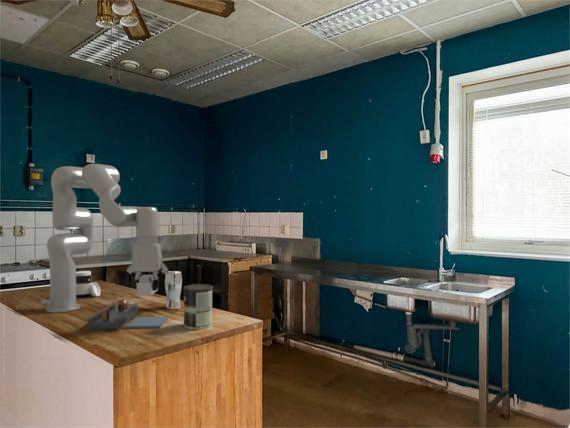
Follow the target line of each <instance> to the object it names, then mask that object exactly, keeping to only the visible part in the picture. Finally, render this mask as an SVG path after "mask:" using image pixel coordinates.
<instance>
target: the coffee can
mask: <svg viewBox="0 0 570 428" xmlns="http://www.w3.org/2000/svg"><path fill="white" fill-rule="evenodd" d="M212 326H213V285H211V284H207V283H192V284H189V285H184V286H183V327H184V328H185V329H188V330H203V329H207V328H211V327H212Z"/></svg>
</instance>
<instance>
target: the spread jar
mask: <svg viewBox="0 0 570 428" xmlns="http://www.w3.org/2000/svg"><path fill="white" fill-rule="evenodd" d="M101 294H102V293H101V287H100V285H99V283H98V282H96V281H95V282H93V277H92V271H91V270H82V271H81V270H80V271H79V270H78V271H76V299H77V298H78V299H79V298H80V299H81V298H89V297H91V296H93V297H95V298H97V297H100V296H101Z"/></svg>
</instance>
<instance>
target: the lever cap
mask: <svg viewBox="0 0 570 428" xmlns="http://www.w3.org/2000/svg"><path fill="white" fill-rule="evenodd" d="M153 280H154V275H153V274H141V276H140V277H139V282H137V288H136V296H139V297H140V296H152V295H154V294H155V293H156V292H158V291H159V290H158V289H159V287H158V288H157V290H156V291H154V290H153Z"/></svg>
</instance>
